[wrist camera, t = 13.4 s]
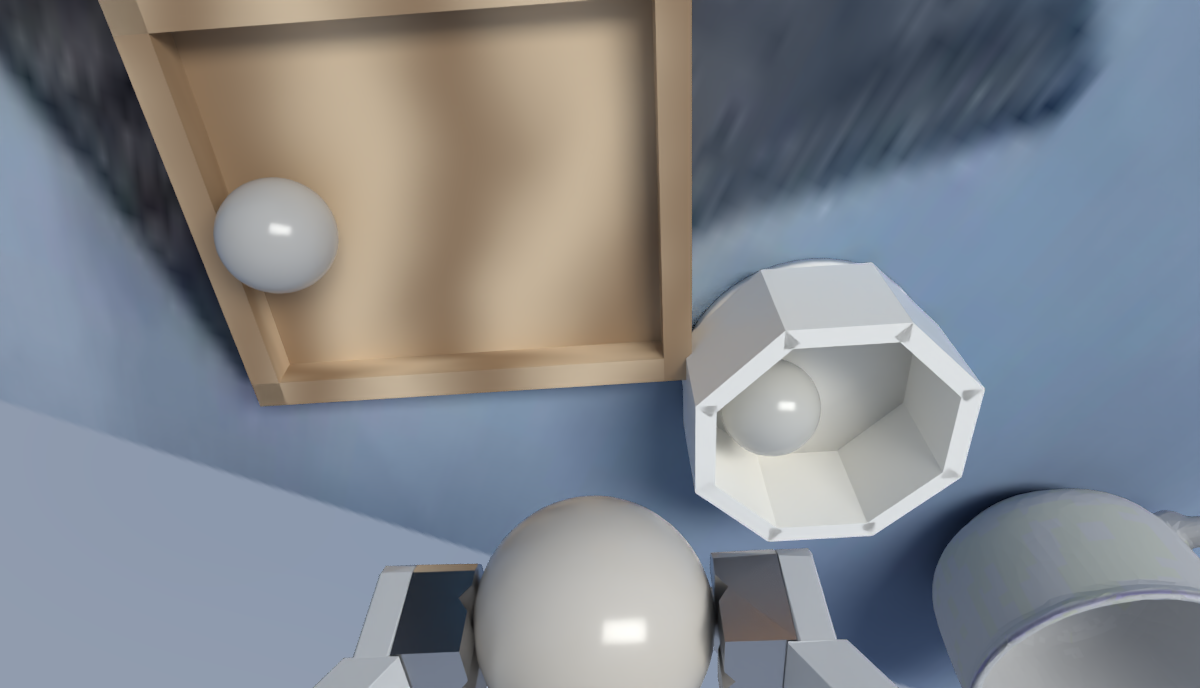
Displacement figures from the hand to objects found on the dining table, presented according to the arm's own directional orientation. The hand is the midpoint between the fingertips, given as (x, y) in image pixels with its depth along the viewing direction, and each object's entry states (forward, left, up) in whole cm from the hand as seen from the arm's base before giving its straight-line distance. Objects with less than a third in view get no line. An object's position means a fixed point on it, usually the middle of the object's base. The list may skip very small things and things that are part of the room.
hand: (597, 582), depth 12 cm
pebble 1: (-10, 0, -16) cm, 18 cm away
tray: (-5, 0, -16) cm, 17 cm away
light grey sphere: (+7, -8, -15) cm, 18 cm away
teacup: (+20, -18, -17) cm, 32 cm away
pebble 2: (0, 0, -1) cm, 1 cm away
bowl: (+8, -8, -16) cm, 19 cm away
